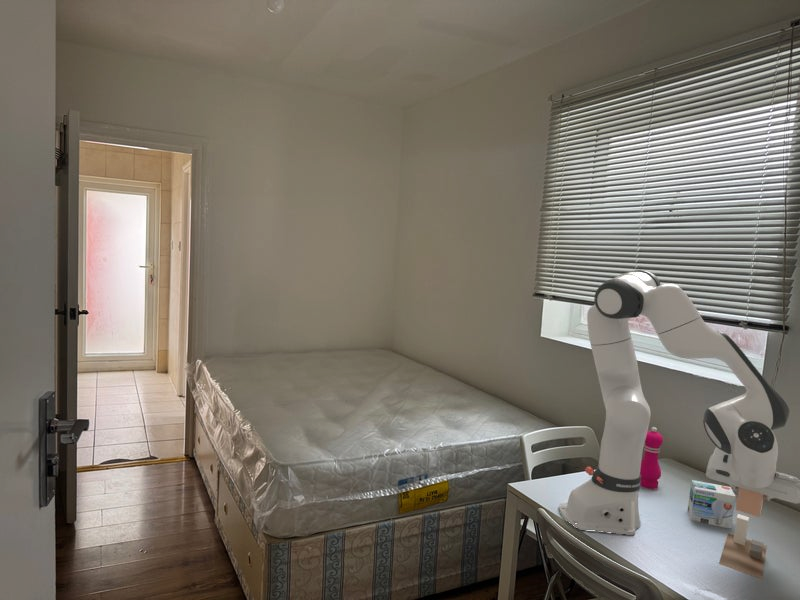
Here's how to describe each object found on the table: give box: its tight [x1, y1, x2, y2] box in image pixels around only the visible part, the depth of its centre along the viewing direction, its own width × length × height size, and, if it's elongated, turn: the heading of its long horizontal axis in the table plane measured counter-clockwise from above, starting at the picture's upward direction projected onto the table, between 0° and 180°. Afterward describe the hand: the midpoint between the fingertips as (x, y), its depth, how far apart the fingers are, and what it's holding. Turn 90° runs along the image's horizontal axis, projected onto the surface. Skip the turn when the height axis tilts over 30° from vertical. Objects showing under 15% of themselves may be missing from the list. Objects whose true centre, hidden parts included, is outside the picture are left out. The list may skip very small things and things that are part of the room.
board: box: [718, 533, 768, 580], centre depth 139 cm, size 19×9×4 cm, turn 143°
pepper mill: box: [640, 426, 664, 490], centre depth 179 cm, size 7×7×20 cm
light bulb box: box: [687, 479, 737, 529], centre depth 156 cm, size 11×7×11 cm, turn 70°
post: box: [733, 513, 750, 546], centre depth 145 cm, size 3×3×7 cm
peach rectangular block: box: [735, 487, 764, 518], centre depth 138 cm, size 5×5×8 cm
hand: (751, 492), depth 139 cm, fingers closed on peach rectangular block, 5 cm apart
